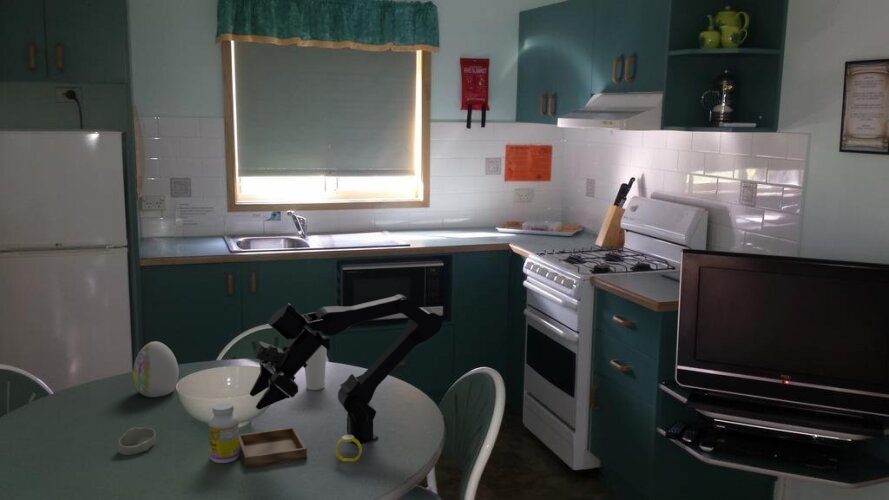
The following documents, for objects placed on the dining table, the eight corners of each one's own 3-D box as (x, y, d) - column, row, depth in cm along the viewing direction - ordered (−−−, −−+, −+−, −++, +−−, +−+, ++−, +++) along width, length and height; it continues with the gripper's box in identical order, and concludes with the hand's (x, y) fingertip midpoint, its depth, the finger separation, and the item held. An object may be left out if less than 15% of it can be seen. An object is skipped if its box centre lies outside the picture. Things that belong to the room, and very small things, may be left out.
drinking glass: (325, 392, 237) (324, 341, 235) (301, 391, 237) (300, 341, 235) (328, 384, 244) (328, 335, 241) (306, 383, 244) (304, 334, 241)
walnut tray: (294, 436, 205) (294, 427, 205) (306, 458, 192) (306, 448, 192) (237, 444, 200) (236, 434, 200) (245, 468, 187) (245, 457, 187)
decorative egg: (135, 387, 240) (132, 337, 237) (179, 383, 243) (177, 334, 241) (133, 401, 228) (129, 349, 226) (179, 397, 232) (176, 346, 229)
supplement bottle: (208, 455, 194) (205, 403, 192) (236, 450, 197) (234, 399, 195) (212, 466, 188) (210, 412, 186) (242, 461, 191) (240, 408, 189)
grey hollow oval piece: (147, 439, 203) (146, 420, 202) (162, 446, 199) (161, 426, 198) (113, 451, 196) (111, 432, 195) (128, 458, 192) (126, 438, 191)
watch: (335, 464, 191) (333, 439, 190) (337, 459, 193) (335, 435, 192) (361, 462, 190) (359, 438, 189) (363, 457, 193) (360, 433, 192)
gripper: (268, 320, 200) (223, 369, 198) (282, 340, 183) (233, 394, 181) (300, 348, 205) (257, 396, 203) (318, 371, 188) (270, 423, 186)
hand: (253, 401), depth 193 cm, fingers open, 9 cm apart
